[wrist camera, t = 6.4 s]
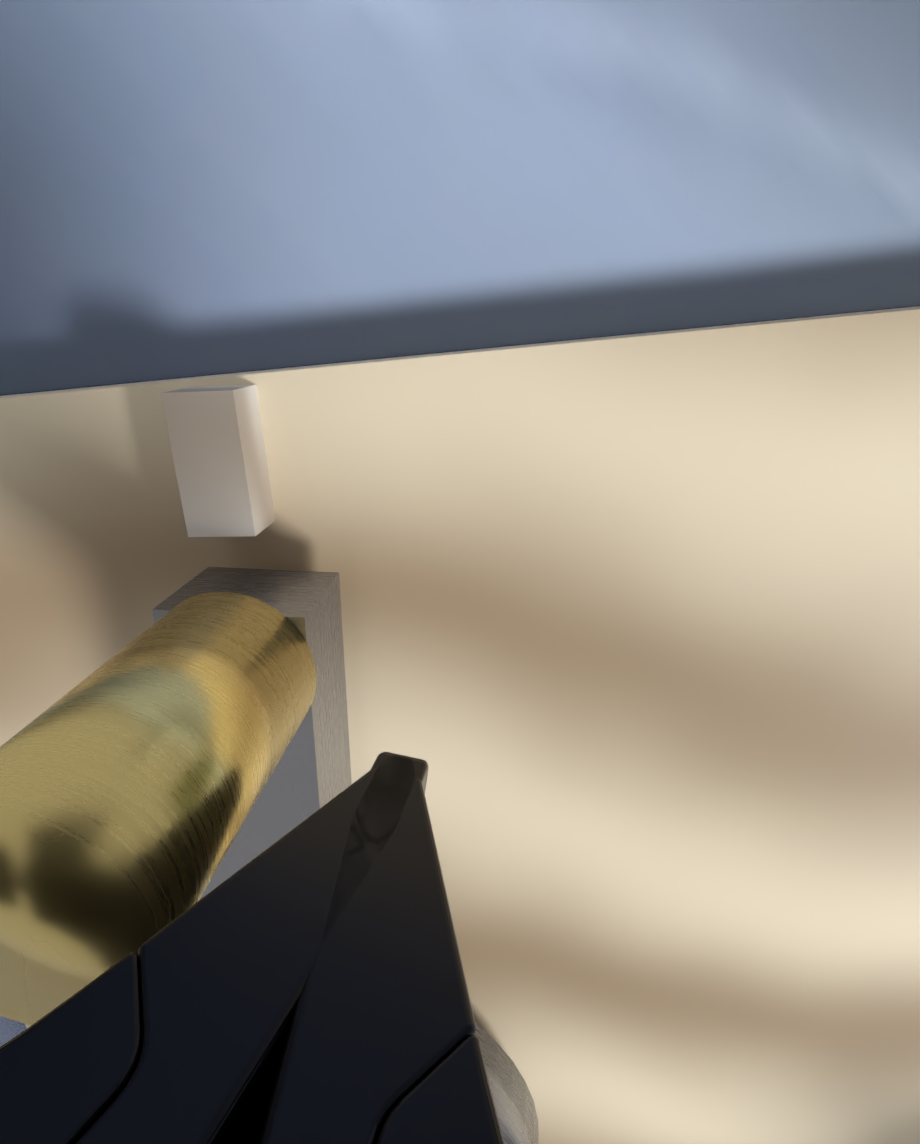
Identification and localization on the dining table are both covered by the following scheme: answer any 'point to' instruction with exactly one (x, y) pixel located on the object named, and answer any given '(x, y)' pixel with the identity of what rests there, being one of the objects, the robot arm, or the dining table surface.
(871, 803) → the stand board
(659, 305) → the dining table surface
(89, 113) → the dining table surface
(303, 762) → the lever
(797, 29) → the dining table surface
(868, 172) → the dining table surface
